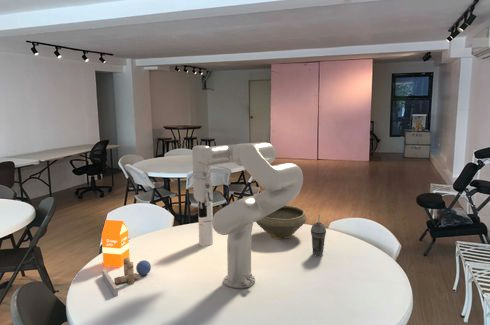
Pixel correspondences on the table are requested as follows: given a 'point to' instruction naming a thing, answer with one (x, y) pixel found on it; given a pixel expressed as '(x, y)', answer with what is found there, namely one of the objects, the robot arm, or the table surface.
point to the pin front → (123, 279)
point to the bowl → (283, 222)
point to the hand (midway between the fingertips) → (202, 216)
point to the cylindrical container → (206, 227)
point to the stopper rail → (110, 282)
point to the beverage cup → (318, 238)
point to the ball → (143, 267)
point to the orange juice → (115, 243)
